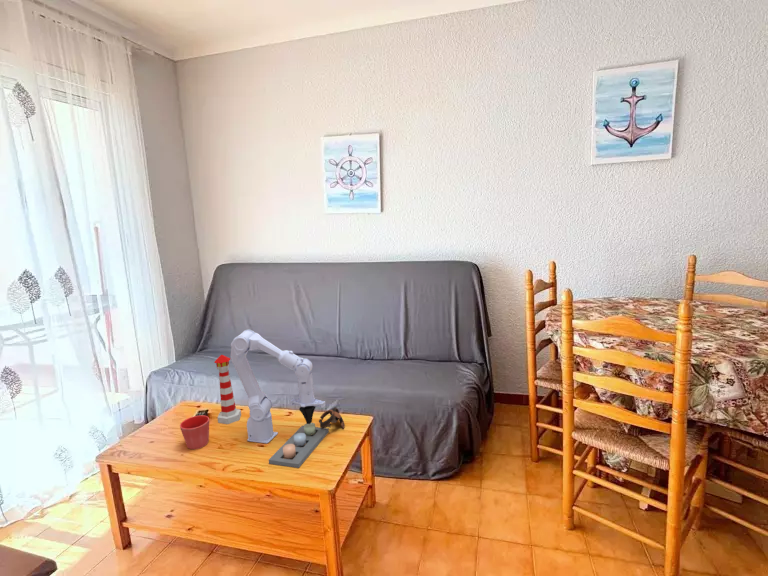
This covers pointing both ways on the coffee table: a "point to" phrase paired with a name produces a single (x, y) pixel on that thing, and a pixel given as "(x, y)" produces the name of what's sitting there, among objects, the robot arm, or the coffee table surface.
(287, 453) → the terracotta button
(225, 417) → the decorative lighthouse
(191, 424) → the flower pot
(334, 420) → the brown curved piece
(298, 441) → the slate button
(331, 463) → the coffee table surface
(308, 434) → the sage button
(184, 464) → the coffee table surface
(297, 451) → the grey slotted board
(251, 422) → the robot arm
